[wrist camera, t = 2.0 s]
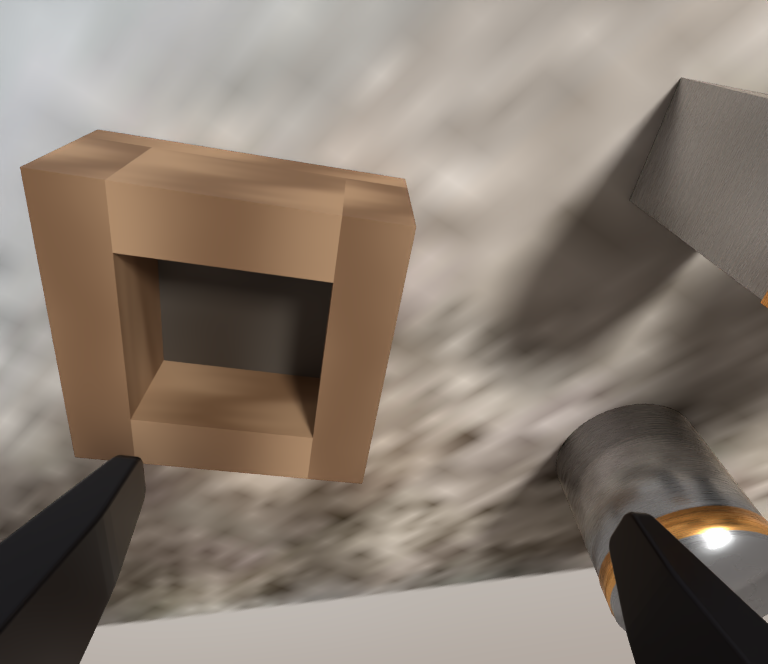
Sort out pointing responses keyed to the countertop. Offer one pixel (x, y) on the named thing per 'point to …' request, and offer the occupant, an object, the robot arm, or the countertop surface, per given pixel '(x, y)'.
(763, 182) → the square bit
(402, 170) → the countertop surface
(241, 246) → the block
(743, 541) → the cylinder
